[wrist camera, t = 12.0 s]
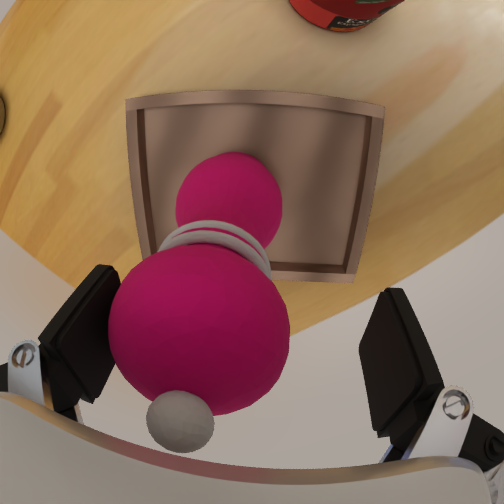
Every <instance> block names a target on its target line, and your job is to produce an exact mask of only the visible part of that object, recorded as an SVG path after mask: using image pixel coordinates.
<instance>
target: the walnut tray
mask: <svg viewBox="0 0 504 504" xmlns="http://www.w3.org/2000/svg"><path fill="white" fill-rule="evenodd" d="M125 101H126V130H127V146H128V159H129V170H130V180H131V188H132V196H133V204H134V211H135V218H136V225H137V231H138V237H139V243H140V248H141V253H142V259H143V260H144V259H145V258H147V257H149V256H151V255H153V254H155V253H157V251H158V250H159V248H160V246H161V244H162V243H163V241H164V240H165V239H166V238H167V236H168V235H169V234H170V233H172V232H173V231H174V230H176V229H177V228H178V225H177V222H176V215H175V208H176V198H177V195H178V191H179V189H180V187H181V185H182V183H183V181H184V179H185V178H186V176H187V175H188V174H189V172H190V171H191V170H192V169H193V168H194V167H195V166H196V165H198V164H199V163H201V162H202V161H204V160H206V159H208V158H211V157H214V156H217V155H219V154H222V153H226V152H242V153H246V154H249V155H251V156H253V157H255V158H256V159H258V160H259V161H260V162H261V163H262V164H263V165H264V166H265V167H266V169H267V170H268V171H269V172H270V173H271V174H272V175H273V177H274V178H275V180H276V182H277V183H278V186H279V188H280V191H281V195H282V219H281V223H280V227H279V229H278V231H277V233H276V235H275V236H274V238H273V240H272V241H271V243H270V244H269V245H268V246H267V247H266V248H265V249H264V250H265V252H266V254H267V256H268V259H269V263H270V267H271V280H289V281H311V282H336V283H353V282H354V279H355V275H356V271H357V268H358V264H359V260H360V256H361V252H362V248H363V243H364V239H365V235H366V230H367V226H368V221H369V216H370V211H371V206H372V201H373V195H374V190H375V184H376V178H377V172H378V165H379V158H380V151H381V143H382V134H383V125H384V114H385V107H384V106H380V105H375V104H371V103H366V102H360V101H355V100H349V99H343V98H337V97H330V96H322V95H314V94H305V93H294V92H281V91H262V90H211V91H192V92H179V93H168V94H159V95H151V96H144V97H137V98H131V99H125Z"/></svg>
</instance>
